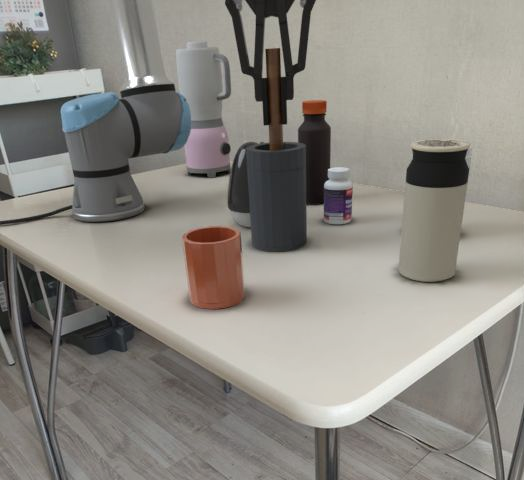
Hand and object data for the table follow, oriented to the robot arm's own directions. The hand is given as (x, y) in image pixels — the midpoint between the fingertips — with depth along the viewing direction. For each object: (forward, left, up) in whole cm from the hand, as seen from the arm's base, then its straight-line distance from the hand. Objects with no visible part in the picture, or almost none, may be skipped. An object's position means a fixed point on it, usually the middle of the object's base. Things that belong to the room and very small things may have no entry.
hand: (275, 123), depth 84 cm
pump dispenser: (-5, +12, -20) cm, 24 cm away
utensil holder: (0, 0, -19) cm, 19 cm away
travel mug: (+22, -16, -20) cm, 33 cm away
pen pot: (-8, -23, -19) cm, 31 cm away
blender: (-20, +62, -20) cm, 68 cm away
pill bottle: (+11, +12, -20) cm, 26 cm away
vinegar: (+7, +28, -20) cm, 35 cm away
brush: (0, 0, -14) cm, 14 cm away
